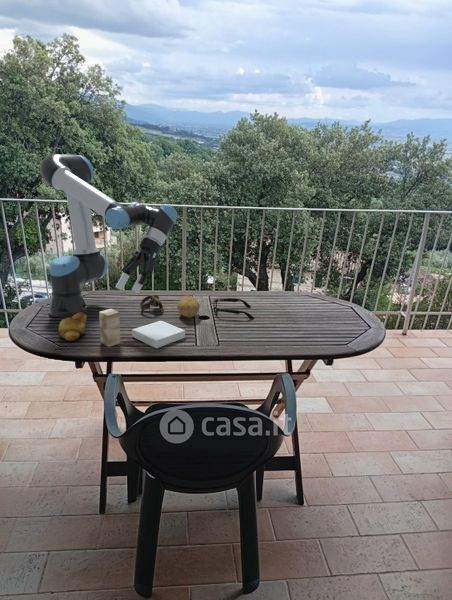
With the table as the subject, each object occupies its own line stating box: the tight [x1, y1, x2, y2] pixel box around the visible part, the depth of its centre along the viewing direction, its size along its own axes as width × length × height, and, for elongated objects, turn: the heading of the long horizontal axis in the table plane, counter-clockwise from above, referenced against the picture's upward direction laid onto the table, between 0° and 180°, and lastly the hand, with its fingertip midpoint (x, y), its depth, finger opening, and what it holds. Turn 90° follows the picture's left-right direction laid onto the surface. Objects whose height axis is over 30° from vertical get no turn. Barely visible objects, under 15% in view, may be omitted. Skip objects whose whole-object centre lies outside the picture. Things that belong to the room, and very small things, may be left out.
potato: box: [176, 295, 201, 319], centre depth 183 cm, size 10×14×8 cm
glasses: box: [212, 298, 255, 320], centre depth 190 cm, size 17×18×5 cm
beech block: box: [98, 308, 121, 348], centre depth 153 cm, size 5×5×12 cm
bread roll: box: [57, 312, 87, 342], centre depth 158 cm, size 13×10×8 cm
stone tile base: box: [131, 320, 186, 349], centre depth 161 cm, size 14×14×3 cm
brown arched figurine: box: [139, 294, 165, 314], centre depth 188 cm, size 12×10×8 cm
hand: (126, 290), depth 157 cm, fingers open, 13 cm apart
